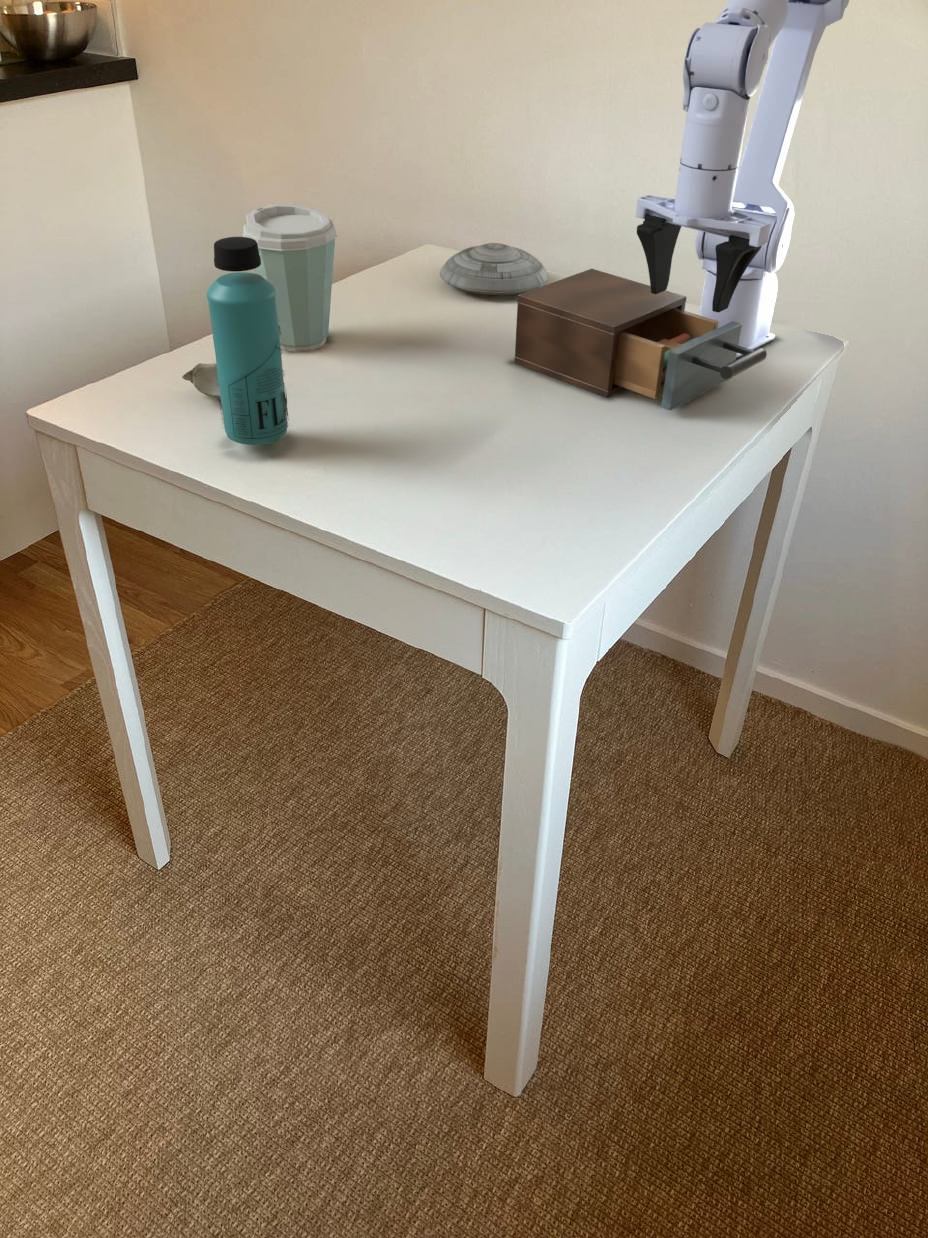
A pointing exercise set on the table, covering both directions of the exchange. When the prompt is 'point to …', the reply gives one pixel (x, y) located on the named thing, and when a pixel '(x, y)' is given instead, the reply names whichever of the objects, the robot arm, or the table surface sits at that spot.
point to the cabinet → (583, 326)
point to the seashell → (204, 379)
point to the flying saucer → (494, 270)
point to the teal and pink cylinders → (672, 345)
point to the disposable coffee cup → (296, 269)
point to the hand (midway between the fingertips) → (688, 300)
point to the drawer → (680, 357)
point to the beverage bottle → (247, 346)
